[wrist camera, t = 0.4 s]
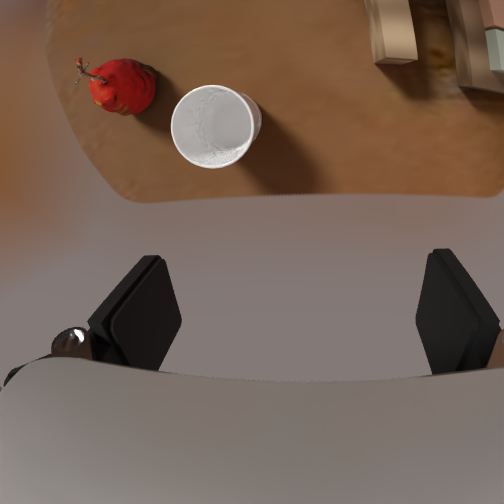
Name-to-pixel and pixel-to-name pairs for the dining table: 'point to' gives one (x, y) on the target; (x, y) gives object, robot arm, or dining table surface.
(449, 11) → the wooden block
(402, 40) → the scraper
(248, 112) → the white cup
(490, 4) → the tile terracotta
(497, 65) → the tile sage
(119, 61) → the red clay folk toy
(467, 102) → the dining table surface
